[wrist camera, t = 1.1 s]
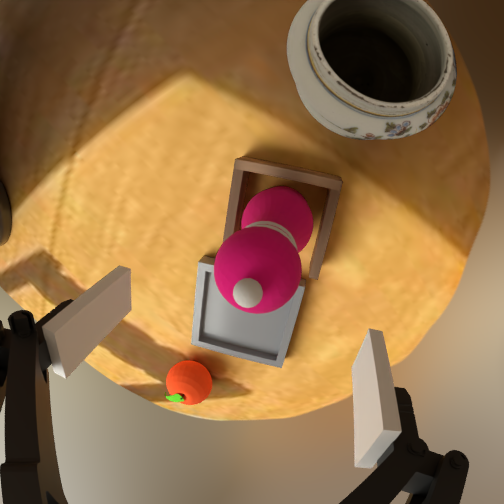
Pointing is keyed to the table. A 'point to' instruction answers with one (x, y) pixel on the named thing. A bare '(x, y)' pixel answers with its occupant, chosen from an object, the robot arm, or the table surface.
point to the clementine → (188, 383)
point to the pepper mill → (265, 252)
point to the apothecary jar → (372, 66)
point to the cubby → (291, 173)
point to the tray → (241, 322)
